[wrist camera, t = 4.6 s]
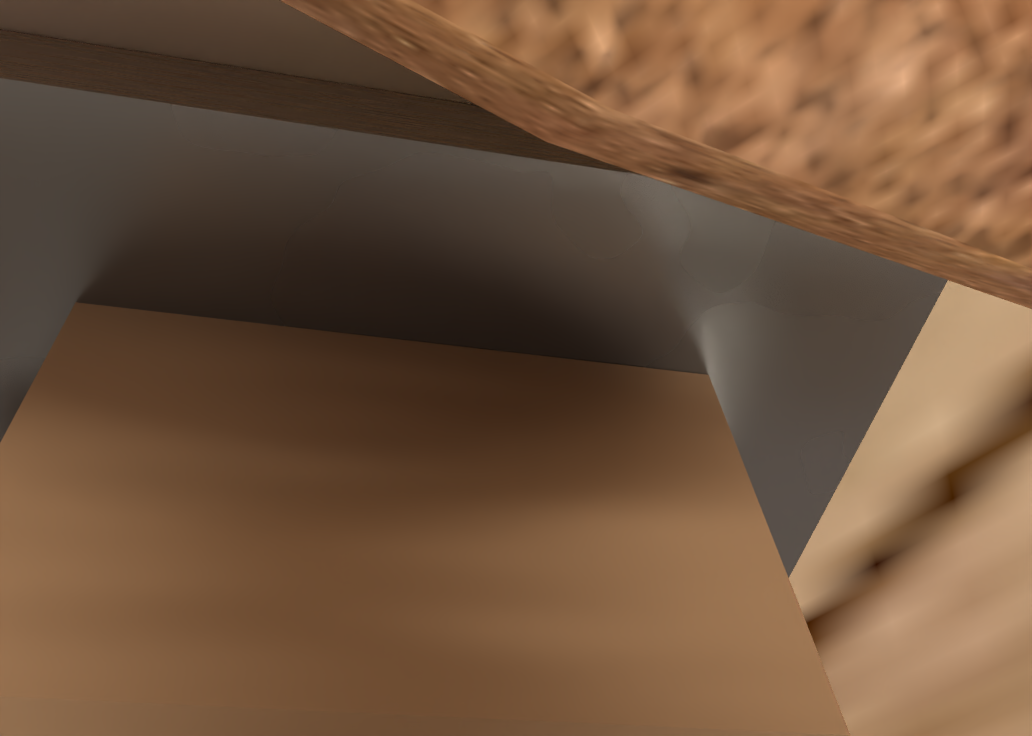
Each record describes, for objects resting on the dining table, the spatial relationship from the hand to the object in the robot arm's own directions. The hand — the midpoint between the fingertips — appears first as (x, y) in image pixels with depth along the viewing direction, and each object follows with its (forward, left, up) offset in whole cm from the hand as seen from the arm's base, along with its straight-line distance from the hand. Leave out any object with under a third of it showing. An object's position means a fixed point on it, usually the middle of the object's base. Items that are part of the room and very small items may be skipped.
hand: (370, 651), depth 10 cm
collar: (0, 0, -1) cm, 1 cm away
